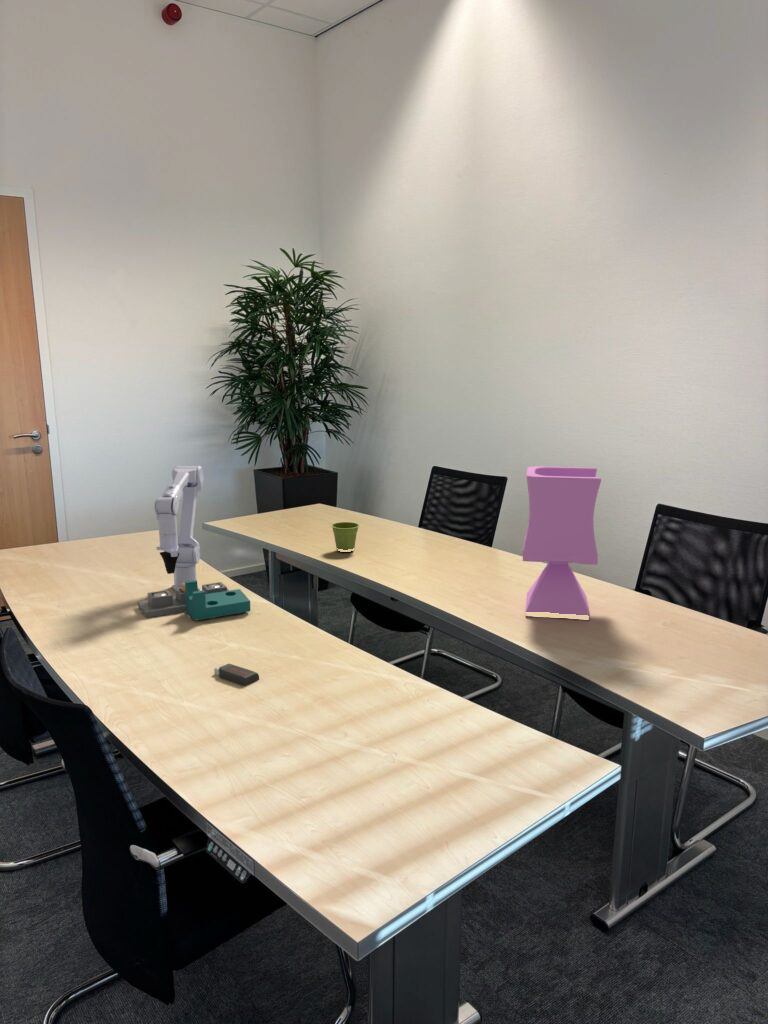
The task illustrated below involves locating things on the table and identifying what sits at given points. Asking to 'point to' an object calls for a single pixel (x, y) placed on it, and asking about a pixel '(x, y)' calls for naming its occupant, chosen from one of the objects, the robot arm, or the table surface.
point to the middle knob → (183, 587)
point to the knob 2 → (213, 586)
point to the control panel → (171, 601)
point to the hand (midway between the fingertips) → (170, 573)
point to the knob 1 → (159, 594)
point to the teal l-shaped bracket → (213, 602)
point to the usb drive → (236, 674)
